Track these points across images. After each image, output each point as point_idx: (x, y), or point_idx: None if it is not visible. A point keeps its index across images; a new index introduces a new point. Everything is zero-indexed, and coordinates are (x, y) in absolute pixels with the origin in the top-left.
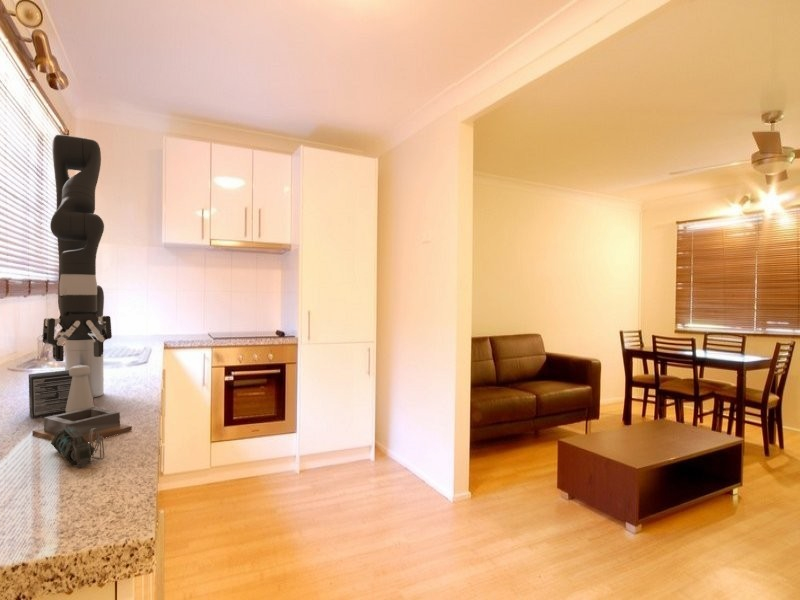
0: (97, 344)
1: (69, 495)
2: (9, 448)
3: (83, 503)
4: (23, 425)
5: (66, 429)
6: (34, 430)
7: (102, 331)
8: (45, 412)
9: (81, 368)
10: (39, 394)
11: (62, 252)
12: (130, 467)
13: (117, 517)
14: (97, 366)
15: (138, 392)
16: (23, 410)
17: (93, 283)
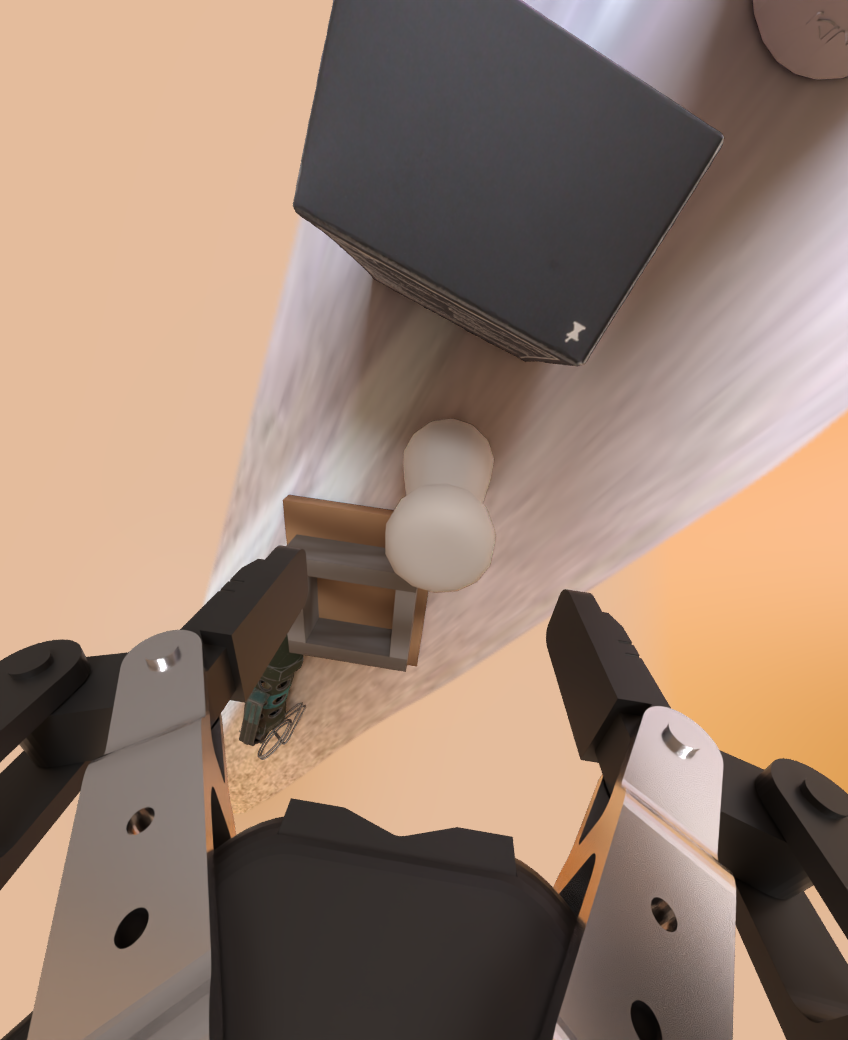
0: (578, 726)
1: (227, 743)
2: (225, 542)
3: (230, 761)
4: (315, 357)
5: (248, 706)
6: (285, 505)
7: (845, 925)
8: (411, 298)
9: (419, 587)
10: (373, 268)
11: None
12: (305, 747)
13: (238, 791)
14: None
15: None
16: None
17: None
